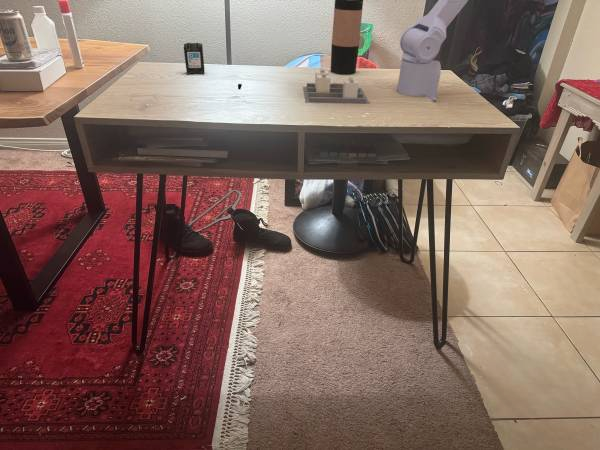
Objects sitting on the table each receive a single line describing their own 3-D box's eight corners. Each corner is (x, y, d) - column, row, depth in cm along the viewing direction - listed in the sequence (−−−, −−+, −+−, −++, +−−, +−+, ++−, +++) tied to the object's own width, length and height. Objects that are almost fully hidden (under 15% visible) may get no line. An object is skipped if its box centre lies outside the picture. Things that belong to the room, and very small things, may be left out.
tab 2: (354, 97, 102) (356, 77, 100) (356, 100, 100) (358, 80, 97) (342, 96, 102) (344, 77, 99) (343, 100, 100) (345, 80, 97)
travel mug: (326, 72, 127) (331, -4, 116) (351, 72, 128) (358, -3, 117) (333, 79, 120) (338, -1, 110) (359, 79, 122) (367, 0, 111)
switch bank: (360, 92, 111) (361, 83, 109) (369, 108, 100) (370, 99, 99) (302, 91, 110) (302, 82, 109) (305, 107, 99) (305, 98, 98)
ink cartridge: (186, 74, 120) (183, 44, 115) (187, 72, 122) (183, 42, 117) (204, 74, 121) (201, 44, 116) (204, 72, 122) (202, 42, 118)
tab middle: (328, 91, 105) (329, 72, 103) (329, 95, 103) (330, 75, 100) (315, 91, 105) (316, 72, 102) (316, 94, 103) (317, 75, 100)
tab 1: (326, 87, 108) (327, 68, 106) (327, 90, 106) (328, 71, 104) (314, 86, 108) (315, 68, 106) (315, 90, 106) (316, 70, 103)
